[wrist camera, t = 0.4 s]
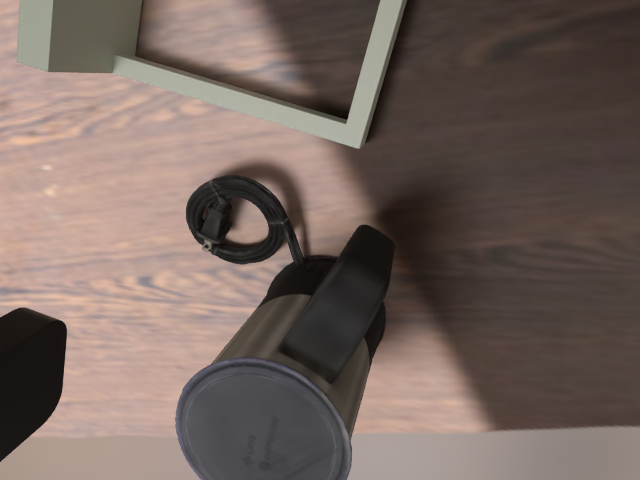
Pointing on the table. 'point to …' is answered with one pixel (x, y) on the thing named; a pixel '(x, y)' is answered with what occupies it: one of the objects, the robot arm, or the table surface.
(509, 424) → the table surface
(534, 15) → the table surface
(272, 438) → the milk frother
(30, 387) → the robot arm
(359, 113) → the frame
